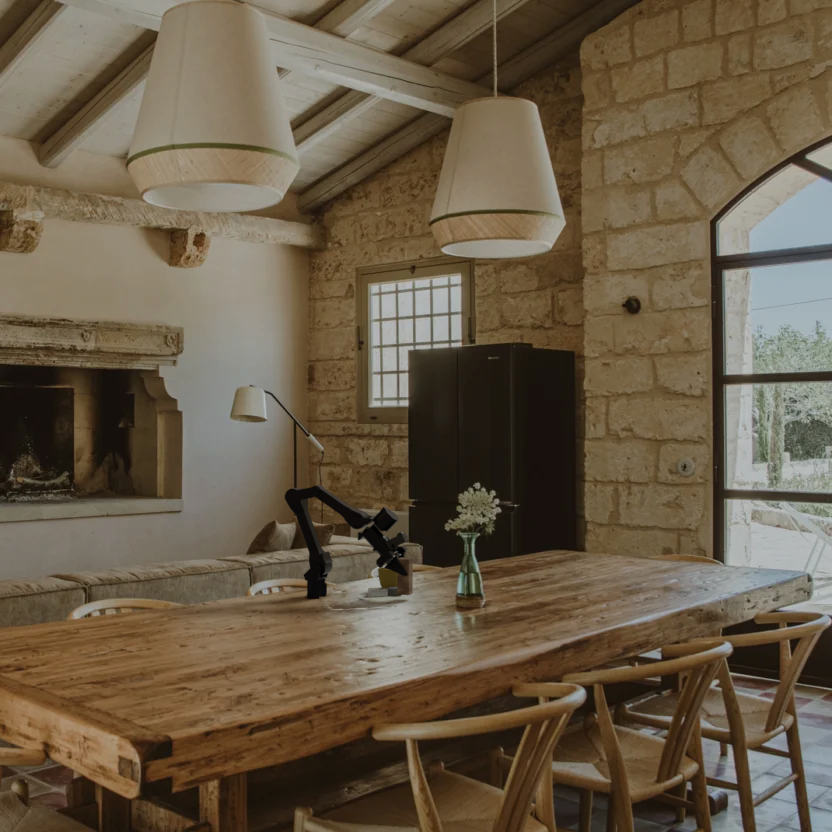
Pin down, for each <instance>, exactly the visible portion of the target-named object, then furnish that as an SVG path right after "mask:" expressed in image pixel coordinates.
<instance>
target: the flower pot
mask: <svg viewBox="0 0 832 832" xmlns="http://www.w3.org/2000/svg"><path fill="white" fill-rule="evenodd" d="M384 567H385V566H383V567H382V568H379V567H378V568H377V574H378V581H379V583H380V584H379V585H380V588H382V587H385V588H388V587H397V573H396V572H394V571H392V570H389V569H387V568H384Z"/></svg>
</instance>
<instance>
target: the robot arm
mask: <svg viewBox="0 0 832 832" xmlns="http://www.w3.org/2000/svg"><path fill="white" fill-rule="evenodd" d="M312 498H316V499H317V500H319V501H320V502H322V503H323V504H325V505H326V506H327V507H328V508H331V510H333V511H334V512H336V513H337V514H339V515H340V516H341V517H342V518H343V519H344V521H345V522H346V523H347V525H349V526H350V527H351V528H352V529H353V530H360V529H363V530H362V531H358V532H357V541H362V540H363V539H365V541H366V542H367V543H368V544H369V545H370V546H371V547H372V551H373V552H374V553H375V552H376V553H377V554H378V555H379V557H378V558H377V559H376V560H375V562H376V563H375V564H376V566H377V567H378V568H383V567H384V568H387V569H389V570H392V571H394V572H396V573H399V574H401V575H403V576H407V575H408V574H407V572H406V571H405V569H404V568H403V566H402V565H401V563H400V562H399V558H406V555H407V552H408V551H409V549H408V548H407V547H406V546H405V545H404V544H405V543H408V542H409V539H408V537H409V536H408V535H407V533H405V532H403V531H400V532H398V533H396V536H394V537H392V538H391V536H386V535H385V534H384V533H383V532H385V533H387V532H389V531H390V529H392V527H393V526H394V525H396V524H397V523H398V521H399V517H398V515H397V514H396V513H395V512H394V511H392V510H390V509H389V508H387V506H383V507H382V508H381V509H380V511H379V512H378V513H377V514H376V515H369V514H368V512H366V511H364V510H362V509H359V508H356V507H354V506H352V505H349V504H348V503H346V502H345V501H344V500H342V499H340V498H339V497H338V496H336V495H335V494H333V493H332V492H330V491H329V490H328V489H326V488H325V487H324V486H323V485H322V484H319V485H318V484H317V485H313V486H311V487H306V488H302V487H293V488H289V489H287V490H286V492H285V494H284V500H285V502H286V504H287V506H288V507H289V509H290V510H291V512H293V514H295V515H294V516H295V517H296V519H297V522H298V525H299V528H300V532H301V534H302V536H303V540H304V542H305V545H306V548H307V551H308V564H309V565H308V566H309V568H308V570H307V571H306V572H304V573H303V578H304V580H305V581H306V598H307V599H318V598H317V597H320V598H325V597H326V596H327V595H328V594H327V593H328V589H327V588H328V585H327V582H326V579H327V577H328V574H329V573H330V572H331V571H332V569H333V562H334V560H333V559H332V557H331V552H330V551H325V550H324V549H323V547H322V544H321V542H320V540H319V536H318V534H317V531H316V529H315V526H314V523H313V521H312V518H311V515H310V511H309V499H312ZM370 524H371V525H370ZM369 525H370V526H369ZM385 564H386V565H385ZM384 565H385V566H384Z"/></svg>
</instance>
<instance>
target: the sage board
mask: <svg viewBox="0 0 832 832" xmlns="http://www.w3.org/2000/svg"><path fill="white" fill-rule="evenodd" d="M367 596H368V600H369V603H395V602H396V603H398V602H399V603H405V602H410V603H411V602H412V599H411V598H410V595H402V596H384V597H370V596H369V595H368V594H367Z"/></svg>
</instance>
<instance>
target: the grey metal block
mask: <svg viewBox="0 0 832 832" xmlns="http://www.w3.org/2000/svg"><path fill="white" fill-rule="evenodd" d="M367 591H368V592H367V593H368V595H369V596H370V597H384V596H388V589H387V588H385V587H368V589H367ZM368 595H367V596H368Z"/></svg>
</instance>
